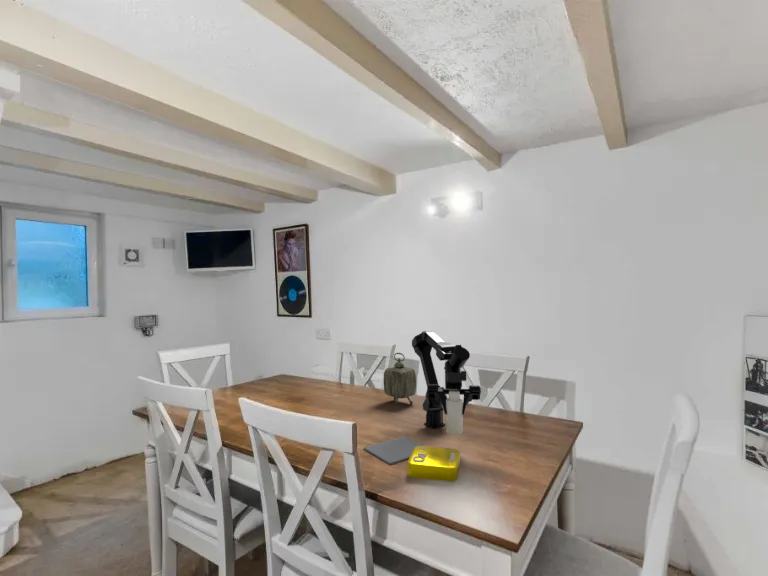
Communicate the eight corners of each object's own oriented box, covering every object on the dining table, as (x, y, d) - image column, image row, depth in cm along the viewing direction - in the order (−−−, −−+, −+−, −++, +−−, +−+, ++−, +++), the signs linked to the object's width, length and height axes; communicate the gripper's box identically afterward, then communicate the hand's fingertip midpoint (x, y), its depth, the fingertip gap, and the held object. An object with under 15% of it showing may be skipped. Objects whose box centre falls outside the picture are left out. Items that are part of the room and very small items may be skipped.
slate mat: (404, 437, 153) (404, 436, 153) (432, 451, 140) (432, 449, 140) (363, 448, 143) (363, 447, 143) (390, 464, 130) (390, 463, 130)
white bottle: (456, 427, 144) (456, 388, 143) (465, 433, 139) (465, 392, 138) (443, 430, 142) (443, 390, 141) (451, 435, 136) (451, 394, 136)
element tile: (456, 483, 118) (456, 467, 118) (406, 478, 122) (406, 462, 122) (460, 462, 132) (460, 447, 132) (415, 457, 136) (415, 443, 136)
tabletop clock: (416, 404, 198) (415, 353, 198) (404, 408, 191) (403, 355, 191) (394, 399, 207) (393, 350, 208) (382, 402, 201) (381, 352, 201)
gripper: (427, 362, 145) (426, 401, 134) (480, 362, 142) (484, 403, 132) (427, 378, 153) (427, 417, 142) (478, 379, 150) (481, 419, 140)
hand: (454, 414), depth 139 cm, fingers closed on white bottle, 6 cm apart
